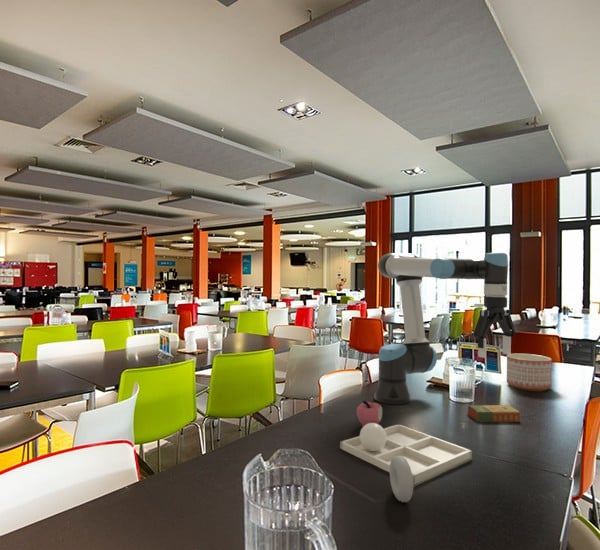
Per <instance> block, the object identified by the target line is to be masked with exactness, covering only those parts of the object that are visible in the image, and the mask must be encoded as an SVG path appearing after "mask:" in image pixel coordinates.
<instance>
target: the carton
mask: <svg viewBox="0 0 600 550" xmlns="http://www.w3.org/2000/svg"><path fill="white" fill-rule="evenodd" d="M520 413H521V412H520V411H519V410H517V409H516V408H514V407H512V406H511V405H508V404H491V405H489V404H483V405H482V404H477V405H476V404H475V405H474V404H473V405H470V404H468V406H467V415H468V416H469V417H470V418H471V419H473V420H474V421H476V422H478V423H479V422H481V423H483V422H484V423H485V422H486V423H488V422H489V423H494V422H495V423H498V422H499V423H505V422H506V423H510V422H511V423H514V422H515V423H520V422H519V421H521V416H520V415H521V414H520Z"/></svg>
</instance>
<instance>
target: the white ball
mask: <svg viewBox="0 0 600 550" xmlns="http://www.w3.org/2000/svg"><path fill="white" fill-rule="evenodd" d="M359 436H360V441H361V443H362V445H363V446H364V448H366V449H367V450H369V451H373V452H375V451H379V450H381V449H382V448H383V447H384V446H385V444H386V441H387V435H386V432H385V430H384V428H383V426H382V425H380V424H376V423H369V424H366V425H365V426H364V427H363V426H362V427H361V429H360V431H359Z"/></svg>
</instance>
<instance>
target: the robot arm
mask: <svg viewBox="0 0 600 550" xmlns="http://www.w3.org/2000/svg"><path fill="white" fill-rule="evenodd" d="M377 263H378V264H377V268H378V271H379V273H380V274H381V276H383V277H385V278H387V279H395V282H396V285H398V286H399V288H400V298H401V306H402V307H401V308H402V316H403V326H404V334H405V335H404V337H405V338H404V339H405V340H403V342H402V343H390V344H385V345H383V346H381V347H380V348H379V351H378V381H377V382H378V383H377V385H376V388H375V391H374V400H375V401H376V402H379V403H382V404H385V405H386V404H387V405H406V404H409V403H410V402H411V394H410V392H409V388H408V384H407V375H409V374H424V373H427V372H430V371H433V369H434V368H435V367H436V364H437V361H438V356H437V352H436V350H435V347H433V346H431V343H430V341H429V340H428V339H427V338H426V333H425V323H424V315H423V314H424V313H423V305H422V297H421V289H420V285H421V283H422V282H423V278H435V279H439V280H448V279H450V280H452V279H453V280H454V279H455V280H460V279H461V280H484V282H483V283H484V284H483V295H484V297H483V306H484V307H485V308H486V309H480V310H479V316H478V319H477V322H476V325H475V328H474V330H473V334H472V336H473V337H474V338H475V339H477V356H478V357H479V358H483V359H486V358H487V339H486V336H487V334H488V332H489V331H490V329H491V328H492V326H493V325H494V324H495V323H496V324H498V326H499V327H500V329H501V331H502V332H503V335H502V355H506V356H507V355H511V354H512V352H511V351H512V350H511V349H512V348H511V346H512V337H515V335H516V333H517V332H516V329H515V325H514V322H513V320H512V315H511V309H509V308H507V307H508V298H507V295H508V271H509V260H508V254H507V253H505V252H486V253H485V254H484V258H452V257H449V258H448V257H422V256H421V255H420V254H417V253H411V252H410V253H405V252H404V253H400V252H399V253H398V252H397V253H395V252H389V253H386V254H384V255H382V256H381V257H380V259H379V260H378V262H377ZM506 308H507V309H506ZM478 357H477V358H478Z"/></svg>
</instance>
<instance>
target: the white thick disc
mask: <svg viewBox="0 0 600 550" xmlns="http://www.w3.org/2000/svg"><path fill="white" fill-rule="evenodd" d="M389 481H390V486H391V490H392V492H393V495H394V497H395V498H396V500H398V501H399V502H400V501H401V502H400V503H408V502H410V500H411V499H412V497H413V493H414V486H413V478H412V472H411V469H410V466H409V464H408V462H407V460H406V459H405V458H404V457H402V456H399V455H398V456H395V457H393V459H392V460H391V463H390V473H389Z"/></svg>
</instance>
